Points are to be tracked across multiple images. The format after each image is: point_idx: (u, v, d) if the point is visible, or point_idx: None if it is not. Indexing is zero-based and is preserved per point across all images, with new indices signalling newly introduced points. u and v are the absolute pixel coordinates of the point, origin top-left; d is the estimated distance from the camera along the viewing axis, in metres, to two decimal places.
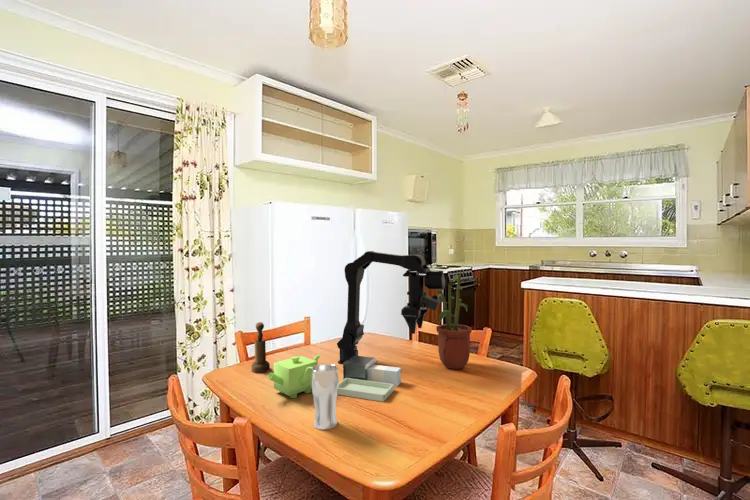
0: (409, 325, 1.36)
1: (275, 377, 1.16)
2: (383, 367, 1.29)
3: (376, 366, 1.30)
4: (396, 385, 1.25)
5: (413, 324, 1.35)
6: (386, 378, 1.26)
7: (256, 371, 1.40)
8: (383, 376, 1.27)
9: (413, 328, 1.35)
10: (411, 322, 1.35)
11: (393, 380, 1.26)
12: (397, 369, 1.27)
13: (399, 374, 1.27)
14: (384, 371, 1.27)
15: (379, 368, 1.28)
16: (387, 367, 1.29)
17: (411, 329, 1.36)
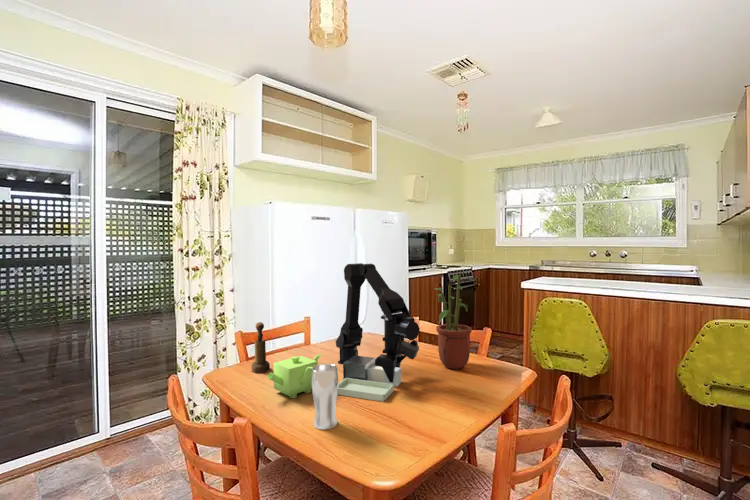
0: (387, 373, 1.25)
1: (275, 377, 1.16)
2: None
3: (376, 366, 1.30)
4: (396, 385, 1.25)
5: (391, 372, 1.24)
6: (386, 378, 1.26)
7: (256, 371, 1.40)
8: (383, 376, 1.27)
9: (391, 376, 1.25)
10: (389, 370, 1.25)
11: (393, 380, 1.26)
12: (397, 369, 1.27)
13: (399, 374, 1.27)
14: None
15: (379, 368, 1.28)
16: None
17: (389, 377, 1.25)
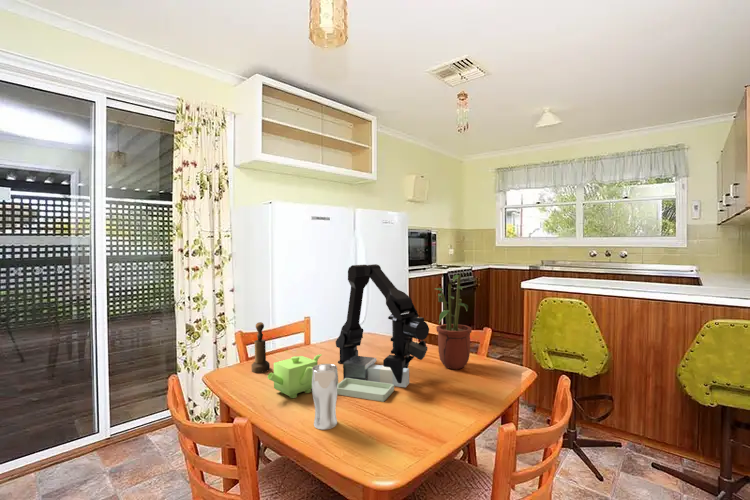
0: (395, 374, 1.24)
1: (275, 377, 1.16)
2: None
3: (384, 367, 1.29)
4: (404, 386, 1.24)
5: (399, 373, 1.23)
6: (394, 379, 1.25)
7: (256, 371, 1.40)
8: (391, 376, 1.26)
9: (399, 377, 1.23)
10: (397, 371, 1.23)
11: (402, 381, 1.24)
12: (405, 370, 1.26)
13: (407, 375, 1.26)
14: (392, 372, 1.25)
15: (387, 369, 1.27)
16: None
17: (397, 378, 1.24)
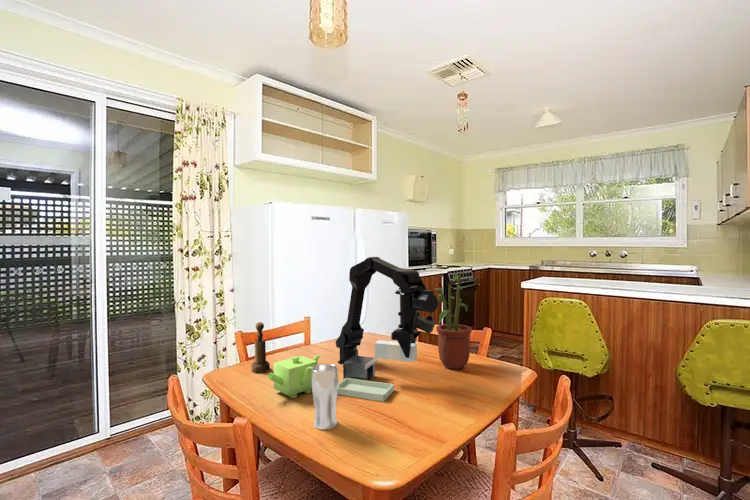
0: (403, 348, 1.23)
1: (275, 377, 1.16)
2: (398, 343, 1.27)
3: (391, 342, 1.28)
4: (412, 360, 1.23)
5: (407, 347, 1.22)
6: (402, 353, 1.24)
7: (256, 371, 1.40)
8: (399, 351, 1.24)
9: (407, 351, 1.22)
10: (405, 345, 1.22)
11: (409, 355, 1.23)
12: (413, 344, 1.25)
13: (415, 350, 1.25)
14: None
15: (395, 344, 1.26)
16: None
17: (405, 353, 1.23)
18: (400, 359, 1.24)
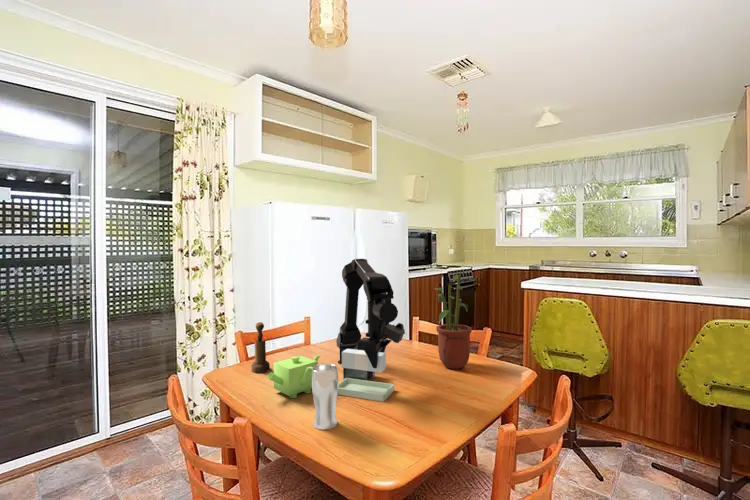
0: (370, 358, 1.16)
1: (275, 377, 1.16)
2: None
3: (359, 351, 1.22)
4: (380, 371, 1.17)
5: (374, 357, 1.16)
6: (369, 363, 1.18)
7: (256, 371, 1.40)
8: (366, 361, 1.18)
9: (374, 361, 1.16)
10: (372, 355, 1.16)
11: (377, 365, 1.17)
12: (381, 354, 1.18)
13: (384, 359, 1.19)
14: (367, 356, 1.18)
15: (362, 353, 1.20)
16: None
17: (372, 363, 1.16)
18: (367, 369, 1.18)
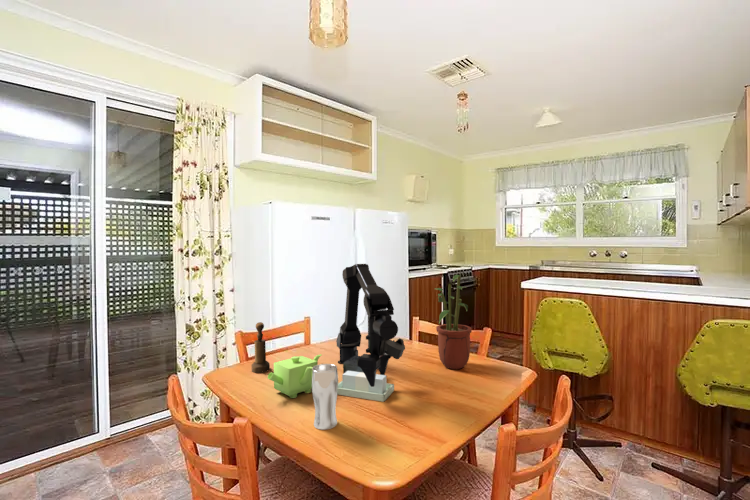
0: (367, 377, 1.14)
1: (275, 377, 1.16)
2: None
3: (360, 373, 1.22)
4: None
5: (372, 376, 1.14)
6: (370, 387, 1.18)
7: (256, 371, 1.40)
8: (367, 384, 1.18)
9: (372, 380, 1.14)
10: (369, 373, 1.14)
11: (378, 389, 1.17)
12: (382, 377, 1.18)
13: (384, 382, 1.19)
14: None
15: (363, 376, 1.20)
16: None
17: (370, 381, 1.14)
18: None
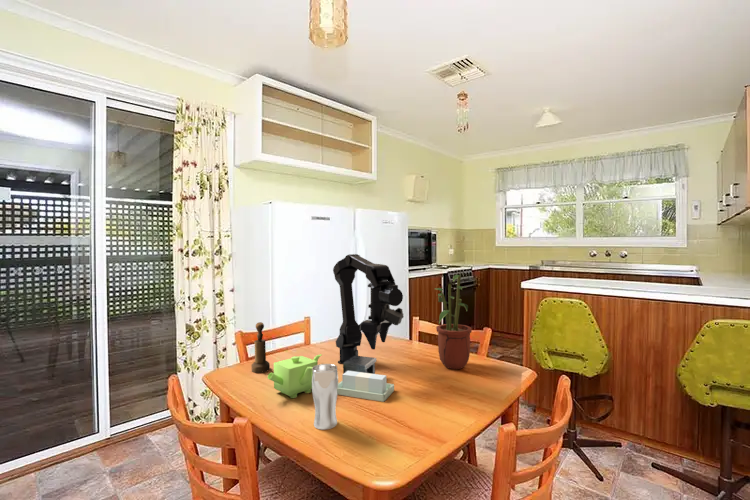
0: (369, 340, 1.28)
1: (275, 377, 1.16)
2: (367, 375, 1.21)
3: (360, 373, 1.22)
4: None
5: (373, 339, 1.27)
6: (370, 387, 1.18)
7: (256, 371, 1.40)
8: (367, 384, 1.18)
9: (373, 343, 1.28)
10: (371, 337, 1.27)
11: (378, 389, 1.17)
12: (382, 377, 1.18)
13: (384, 382, 1.19)
14: (368, 379, 1.18)
15: (363, 376, 1.20)
16: (372, 375, 1.21)
17: (371, 345, 1.28)
18: None
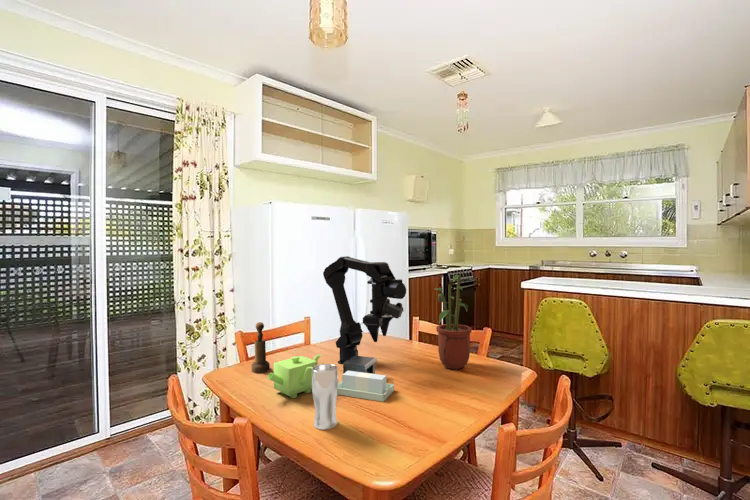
0: (371, 333, 1.35)
1: (275, 377, 1.16)
2: (367, 375, 1.21)
3: (360, 373, 1.22)
4: None
5: (375, 332, 1.34)
6: (370, 387, 1.18)
7: (256, 371, 1.40)
8: (367, 384, 1.18)
9: (375, 336, 1.35)
10: (373, 330, 1.34)
11: (378, 389, 1.17)
12: (382, 377, 1.18)
13: (384, 382, 1.19)
14: (368, 379, 1.18)
15: (363, 376, 1.20)
16: (372, 375, 1.21)
17: (373, 337, 1.35)
18: None
